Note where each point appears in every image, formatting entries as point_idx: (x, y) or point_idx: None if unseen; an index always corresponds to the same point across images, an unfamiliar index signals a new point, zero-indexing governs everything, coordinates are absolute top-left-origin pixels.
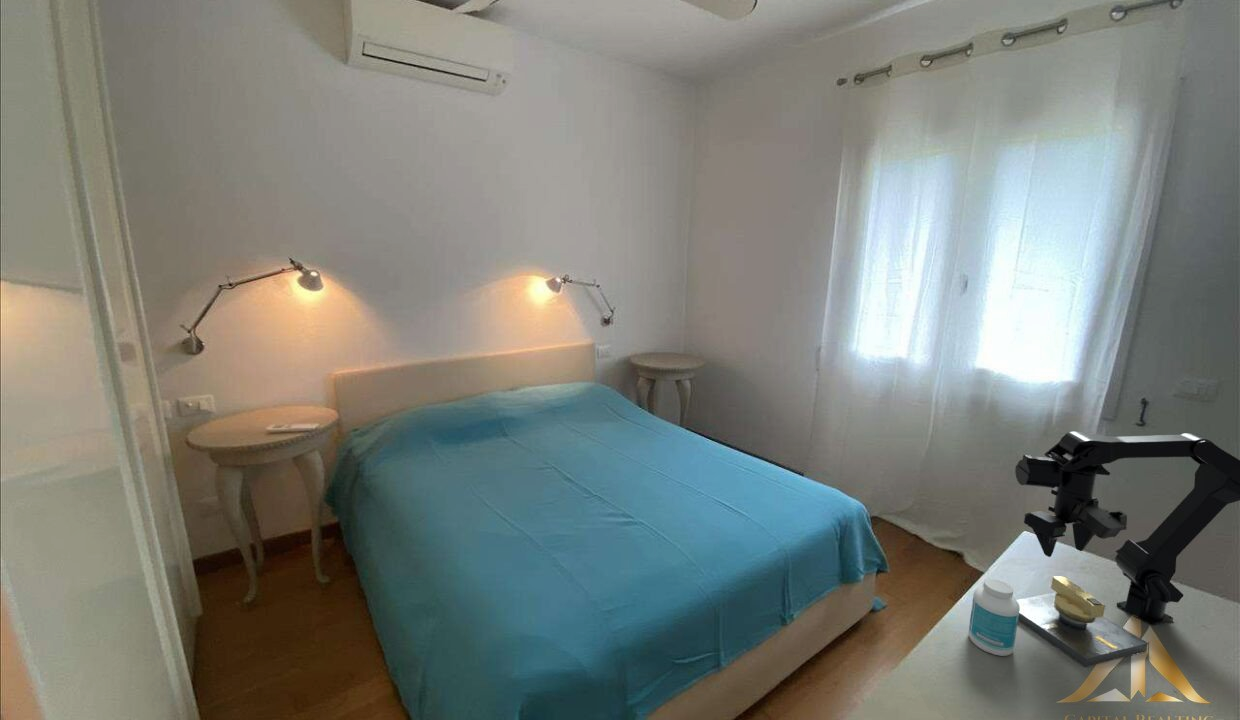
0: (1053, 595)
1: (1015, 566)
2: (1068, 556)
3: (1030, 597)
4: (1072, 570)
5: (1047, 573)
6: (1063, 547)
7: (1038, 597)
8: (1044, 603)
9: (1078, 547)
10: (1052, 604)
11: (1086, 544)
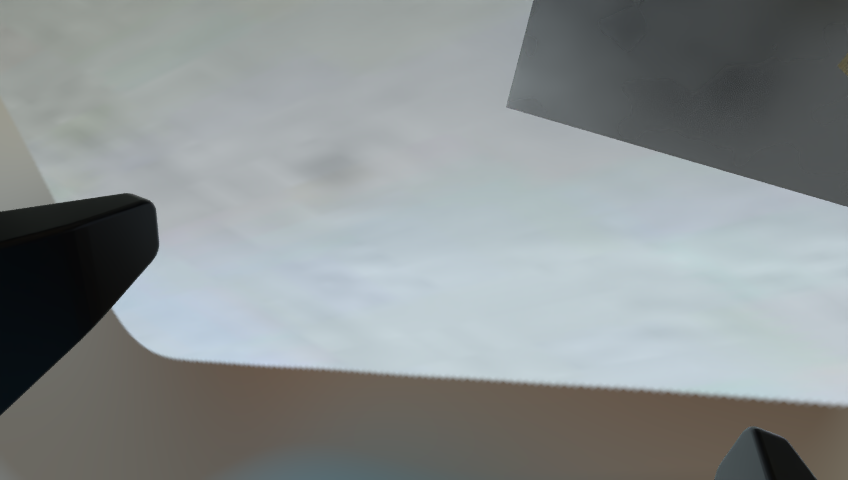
0: (621, 110)
1: (393, 338)
2: None
3: (834, 199)
4: (152, 158)
5: (300, 222)
6: None
7: (774, 164)
8: (845, 104)
9: (129, 250)
10: (795, 61)
11: (4, 218)
